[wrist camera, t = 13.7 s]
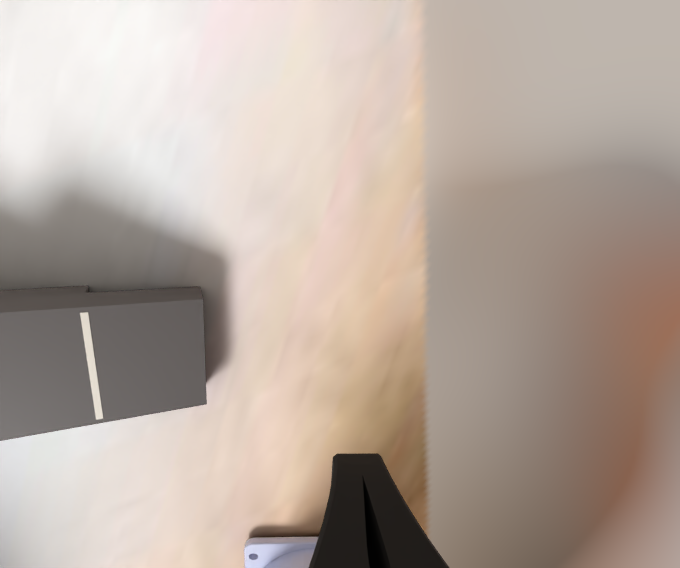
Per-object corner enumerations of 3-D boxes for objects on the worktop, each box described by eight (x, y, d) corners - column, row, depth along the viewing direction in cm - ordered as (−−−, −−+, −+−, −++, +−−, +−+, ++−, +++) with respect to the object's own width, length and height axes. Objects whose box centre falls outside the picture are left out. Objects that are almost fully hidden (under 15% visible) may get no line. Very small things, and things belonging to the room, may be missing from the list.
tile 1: (203, 299, 15) (-72, 317, 11) (206, 404, 16) (-33, 447, 13) (200, 286, 16) (-47, 299, 13) (203, 384, 18) (-15, 419, 14)
